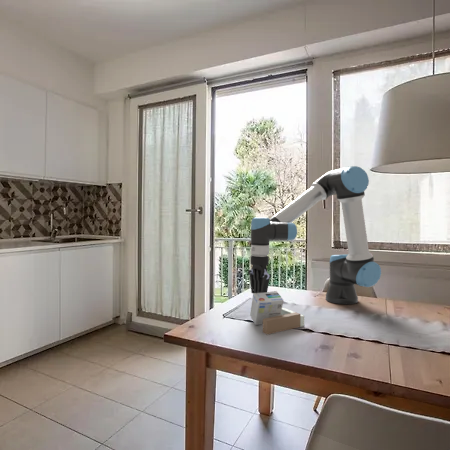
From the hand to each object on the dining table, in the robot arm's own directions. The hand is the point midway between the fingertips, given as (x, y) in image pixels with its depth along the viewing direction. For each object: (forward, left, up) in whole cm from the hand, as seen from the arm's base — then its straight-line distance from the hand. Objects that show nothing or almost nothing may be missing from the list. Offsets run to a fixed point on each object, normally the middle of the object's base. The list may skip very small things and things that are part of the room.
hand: (258, 312), depth 135 cm
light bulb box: (0, +4, -2) cm, 4 cm away
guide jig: (0, +4, -3) cm, 5 cm away
